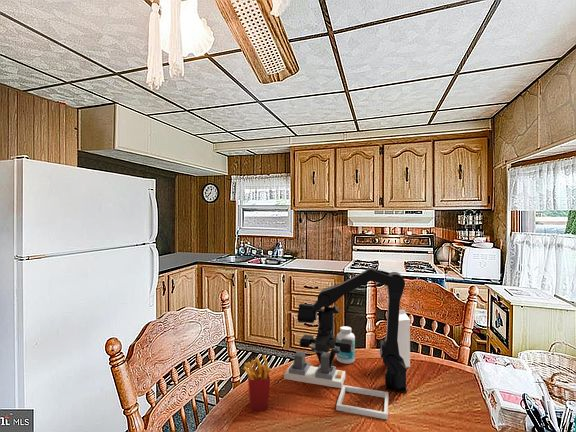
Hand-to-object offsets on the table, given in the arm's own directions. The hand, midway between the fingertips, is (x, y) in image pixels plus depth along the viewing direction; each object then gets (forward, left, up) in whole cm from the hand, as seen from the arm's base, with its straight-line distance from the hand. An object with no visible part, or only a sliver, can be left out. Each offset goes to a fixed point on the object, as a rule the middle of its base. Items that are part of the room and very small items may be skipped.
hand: (326, 366), depth 120 cm
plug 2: (0, 0, -2) cm, 2 cm away
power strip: (+4, 0, -4) cm, 6 cm away
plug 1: (+10, 0, -2) cm, 10 cm away
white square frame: (-14, +11, -5) cm, 19 cm away
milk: (-25, -22, -5) cm, 34 cm away
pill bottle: (-4, -19, -5) cm, 20 cm away
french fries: (+18, +23, -5) cm, 30 cm away
